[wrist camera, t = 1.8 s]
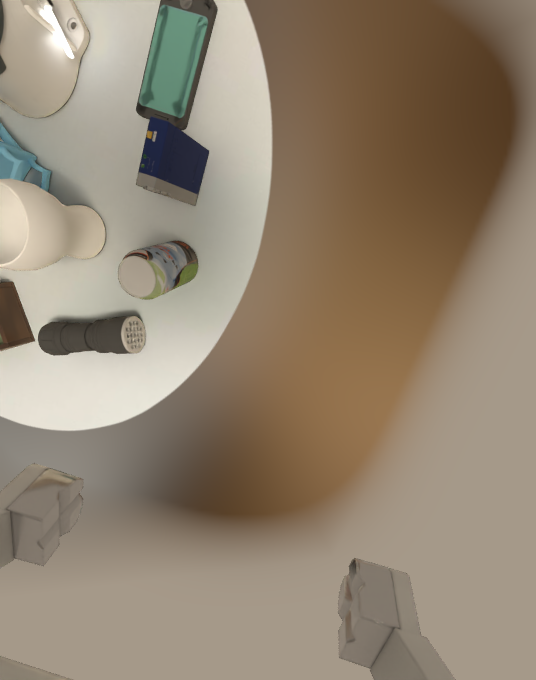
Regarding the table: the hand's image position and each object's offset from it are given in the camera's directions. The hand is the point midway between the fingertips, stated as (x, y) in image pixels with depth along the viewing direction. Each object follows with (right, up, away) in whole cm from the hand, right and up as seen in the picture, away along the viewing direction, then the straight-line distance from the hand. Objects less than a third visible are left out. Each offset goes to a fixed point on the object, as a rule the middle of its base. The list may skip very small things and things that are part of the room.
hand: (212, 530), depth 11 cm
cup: (-26, +22, +47) cm, 58 cm away
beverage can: (-11, +16, +45) cm, 49 cm away
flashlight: (-24, +7, +50) cm, 56 cm away
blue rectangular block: (-8, +28, +42) cm, 51 cm away
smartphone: (-10, +42, +39) cm, 58 cm away
